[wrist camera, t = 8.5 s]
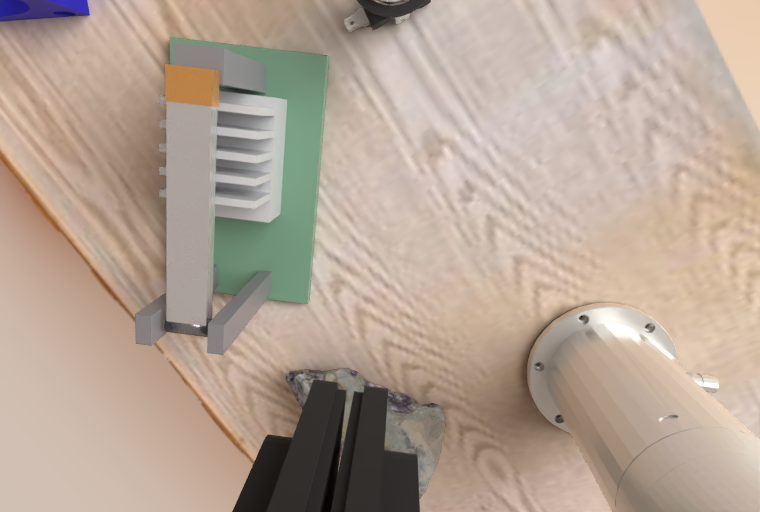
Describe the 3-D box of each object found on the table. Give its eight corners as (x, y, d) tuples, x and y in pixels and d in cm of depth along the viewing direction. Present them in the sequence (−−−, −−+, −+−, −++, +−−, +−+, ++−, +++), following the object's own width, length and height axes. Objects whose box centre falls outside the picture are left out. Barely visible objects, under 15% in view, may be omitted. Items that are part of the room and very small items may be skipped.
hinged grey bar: (220, 71, 29) (213, 69, 28) (213, 332, 33) (206, 340, 32) (173, 66, 29) (163, 63, 28) (172, 327, 33) (164, 334, 32)
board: (329, 57, 38) (293, 27, 26) (309, 299, 43) (272, 368, 31) (175, 39, 38) (70, 1, 26) (174, 282, 44) (86, 344, 32)
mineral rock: (285, 362, 45) (252, 428, 36) (388, 310, 43) (382, 365, 34) (356, 470, 48) (343, 558, 38) (455, 425, 46) (468, 506, 36)
